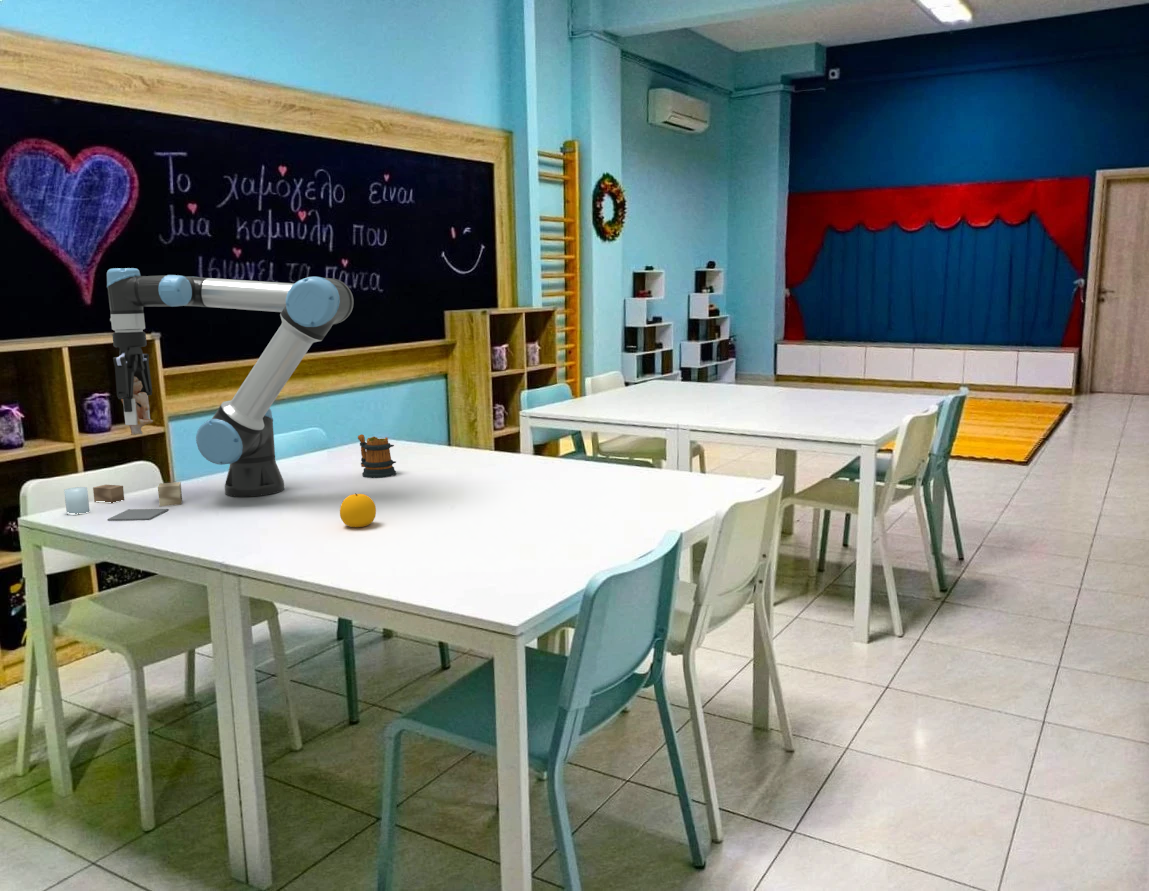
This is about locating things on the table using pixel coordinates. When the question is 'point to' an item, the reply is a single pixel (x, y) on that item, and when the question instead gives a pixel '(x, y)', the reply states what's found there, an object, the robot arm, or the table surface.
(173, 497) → the beech block
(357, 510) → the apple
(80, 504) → the pale blue rounded block
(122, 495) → the walnut block
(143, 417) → the figurine
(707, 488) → the table surface
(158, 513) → the grey mat
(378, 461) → the mug
